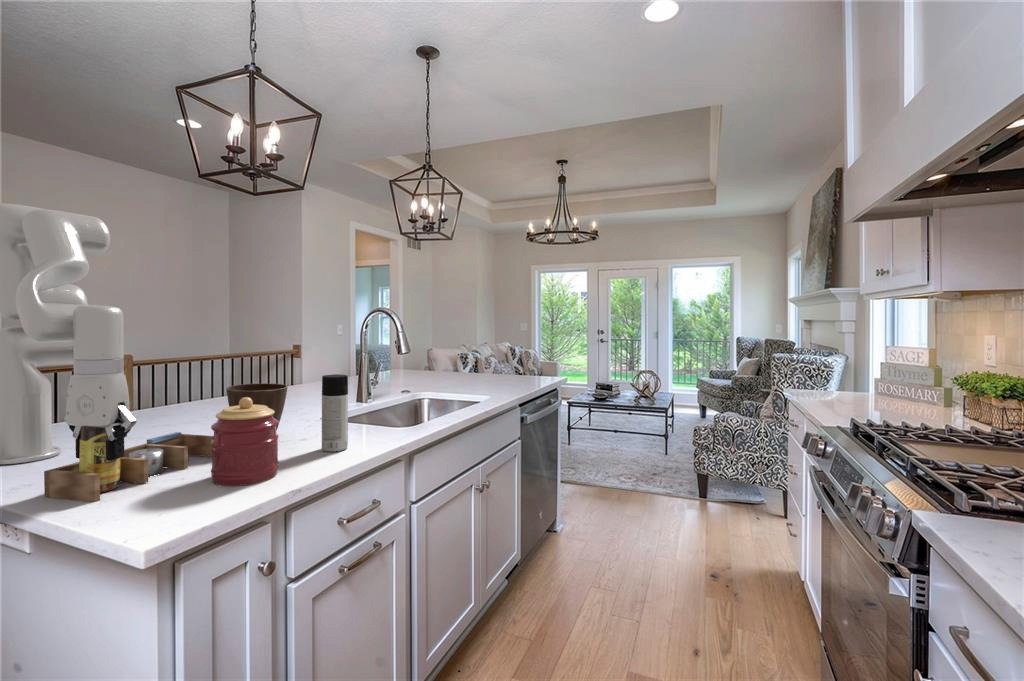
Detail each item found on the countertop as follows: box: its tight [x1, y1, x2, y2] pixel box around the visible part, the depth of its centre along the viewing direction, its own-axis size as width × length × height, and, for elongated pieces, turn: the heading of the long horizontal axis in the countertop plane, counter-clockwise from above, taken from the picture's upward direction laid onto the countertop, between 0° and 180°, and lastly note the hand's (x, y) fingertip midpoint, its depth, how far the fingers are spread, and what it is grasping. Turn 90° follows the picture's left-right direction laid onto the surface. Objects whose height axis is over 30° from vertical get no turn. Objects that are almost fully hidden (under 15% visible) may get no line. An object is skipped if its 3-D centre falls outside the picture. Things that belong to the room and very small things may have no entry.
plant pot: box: [225, 382, 288, 432], centre depth 131 cm, size 15×15×16 cm
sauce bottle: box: [78, 422, 120, 494], centre depth 94 cm, size 7×6×20 cm
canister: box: [210, 397, 280, 487], centre depth 104 cm, size 13×13×18 cm
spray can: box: [321, 374, 349, 453], centre depth 127 cm, size 7×7×20 cm
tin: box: [129, 448, 164, 478], centre depth 104 cm, size 6×6×5 cm
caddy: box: [43, 431, 214, 503], centre depth 105 cm, size 11×31×6 cm, turn 171°
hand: (100, 456), depth 94 cm, fingers closed on sauce bottle, 6 cm apart
